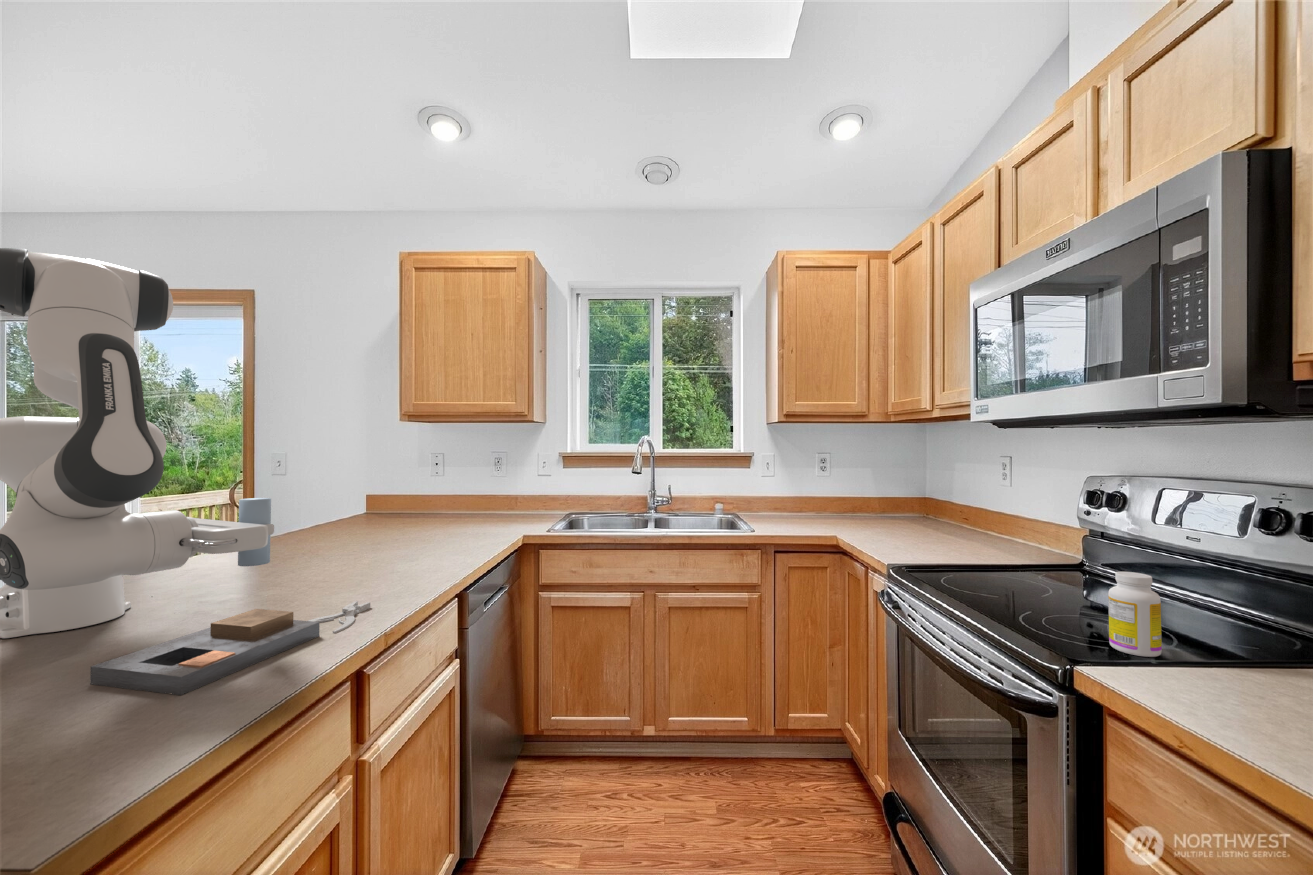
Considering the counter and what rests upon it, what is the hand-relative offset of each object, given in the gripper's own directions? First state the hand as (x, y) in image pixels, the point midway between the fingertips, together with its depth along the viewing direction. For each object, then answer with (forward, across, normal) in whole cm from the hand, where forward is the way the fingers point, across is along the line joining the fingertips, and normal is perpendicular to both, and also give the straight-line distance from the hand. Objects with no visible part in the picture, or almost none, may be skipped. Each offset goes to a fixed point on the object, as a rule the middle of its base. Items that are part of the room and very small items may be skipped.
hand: (260, 527), depth 92 cm
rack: (-7, -1, +20) cm, 21 cm away
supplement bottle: (+53, -140, +19) cm, 151 cm away
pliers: (+14, -2, +20) cm, 25 cm away
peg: (-1, 0, +6) cm, 6 cm away
